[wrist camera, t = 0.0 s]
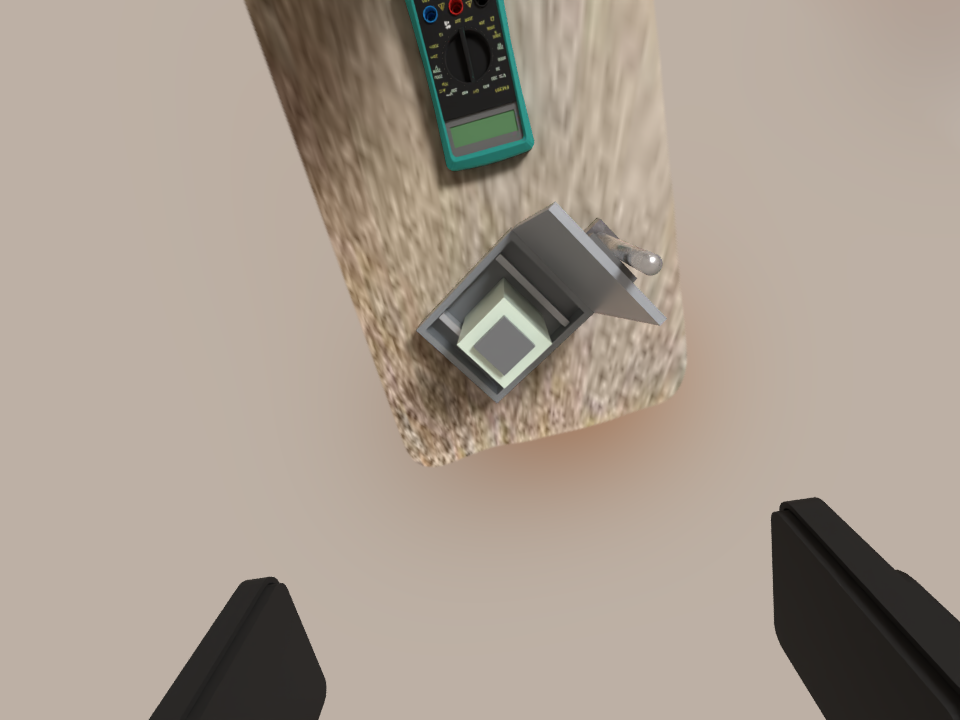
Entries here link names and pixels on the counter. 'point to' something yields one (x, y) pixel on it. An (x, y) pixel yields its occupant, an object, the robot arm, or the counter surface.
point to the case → (530, 281)
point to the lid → (586, 266)
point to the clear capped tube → (626, 249)
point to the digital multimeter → (472, 80)
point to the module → (504, 333)
